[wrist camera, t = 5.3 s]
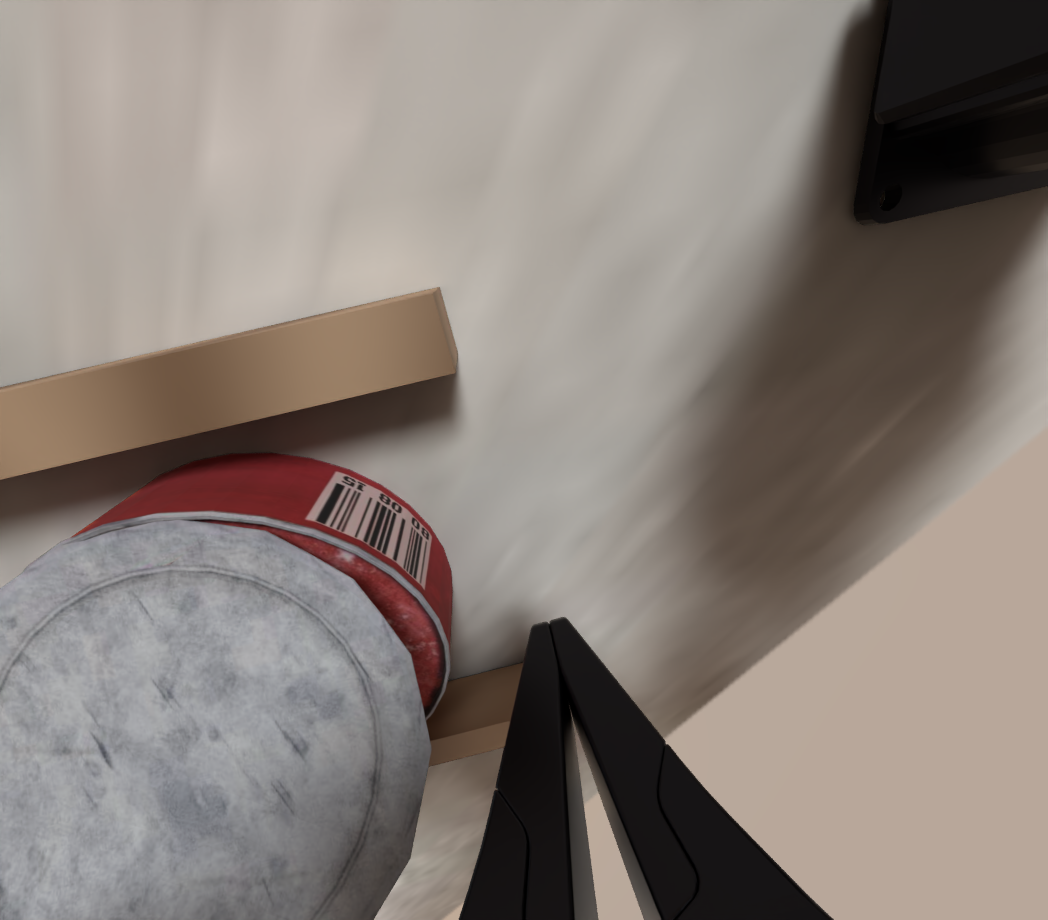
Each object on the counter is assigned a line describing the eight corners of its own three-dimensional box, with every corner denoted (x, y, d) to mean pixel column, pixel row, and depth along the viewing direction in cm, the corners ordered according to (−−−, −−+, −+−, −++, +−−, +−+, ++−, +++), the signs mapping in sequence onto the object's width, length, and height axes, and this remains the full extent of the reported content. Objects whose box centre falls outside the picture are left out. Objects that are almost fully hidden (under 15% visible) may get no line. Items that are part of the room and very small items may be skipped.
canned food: (233, 555, 17) (-273, 796, 8) (319, 367, 13) (-531, 407, 4) (423, 742, 16) (107, 1266, 7) (581, 605, 12) (322, 1440, 3)
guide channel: (439, 287, 9) (432, 293, 7) (549, 680, 16) (559, 733, 14) (-563, 516, 8) (-841, 584, 7) (8, 817, 15) (-52, 890, 14)
